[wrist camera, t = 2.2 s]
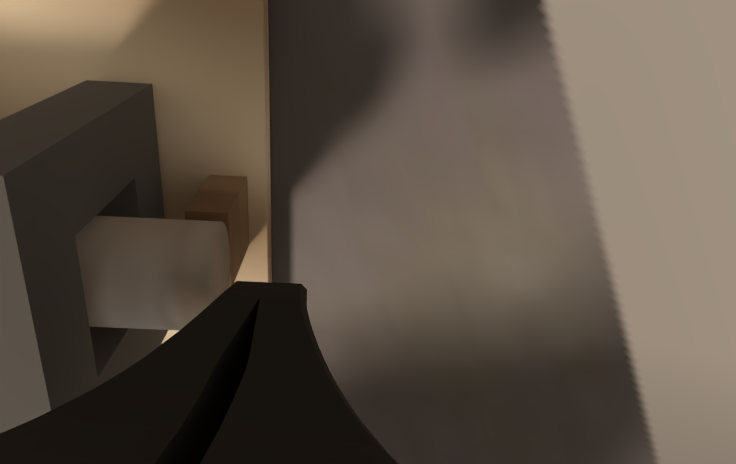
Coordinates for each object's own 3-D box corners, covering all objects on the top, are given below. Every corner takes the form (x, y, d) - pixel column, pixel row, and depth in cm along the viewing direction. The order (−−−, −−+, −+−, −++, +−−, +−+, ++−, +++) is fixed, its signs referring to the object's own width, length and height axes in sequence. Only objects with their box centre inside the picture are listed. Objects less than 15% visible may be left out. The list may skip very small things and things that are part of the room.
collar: (173, 319, 18) (72, 514, 12) (118, 317, 18) (-14, 511, 12) (152, 83, 15) (2, 175, 9) (86, 80, 15) (-111, 169, 9)
